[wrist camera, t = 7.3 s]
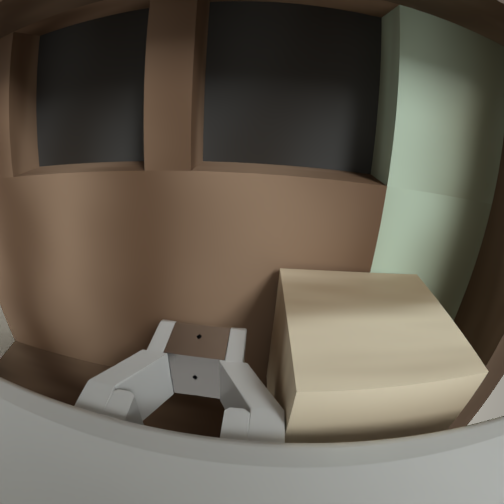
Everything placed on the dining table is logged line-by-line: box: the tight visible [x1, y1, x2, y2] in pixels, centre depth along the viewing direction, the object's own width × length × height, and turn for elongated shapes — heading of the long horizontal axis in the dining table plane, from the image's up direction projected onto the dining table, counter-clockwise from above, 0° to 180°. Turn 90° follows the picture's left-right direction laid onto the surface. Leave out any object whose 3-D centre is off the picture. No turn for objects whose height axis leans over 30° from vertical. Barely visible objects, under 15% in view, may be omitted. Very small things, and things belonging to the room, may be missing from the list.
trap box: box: [0, 0, 504, 438], centre depth 9 cm, size 23×18×5 cm
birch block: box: [266, 268, 489, 443], centre depth 9 cm, size 5×5×5 cm
